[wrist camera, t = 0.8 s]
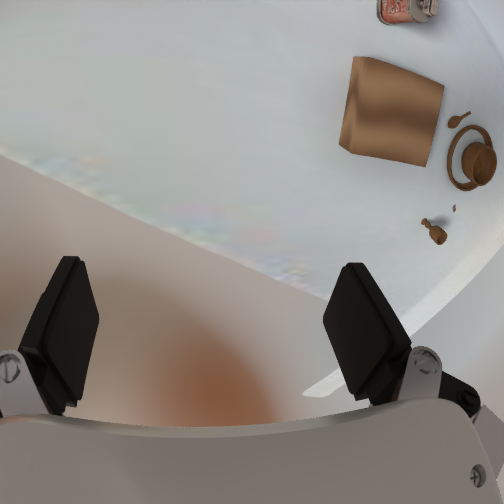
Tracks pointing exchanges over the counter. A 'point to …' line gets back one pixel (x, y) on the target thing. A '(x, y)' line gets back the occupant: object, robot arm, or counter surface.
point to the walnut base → (390, 112)
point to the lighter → (406, 11)
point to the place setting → (468, 168)
